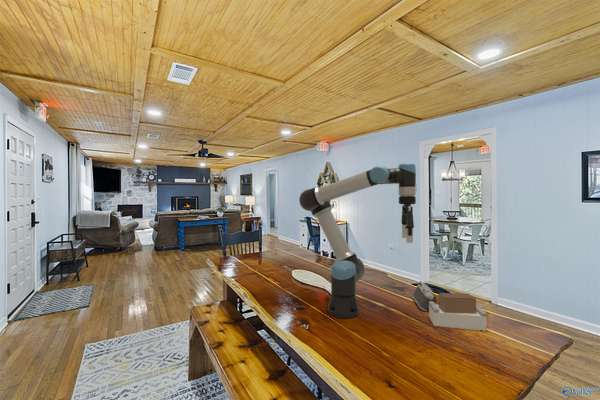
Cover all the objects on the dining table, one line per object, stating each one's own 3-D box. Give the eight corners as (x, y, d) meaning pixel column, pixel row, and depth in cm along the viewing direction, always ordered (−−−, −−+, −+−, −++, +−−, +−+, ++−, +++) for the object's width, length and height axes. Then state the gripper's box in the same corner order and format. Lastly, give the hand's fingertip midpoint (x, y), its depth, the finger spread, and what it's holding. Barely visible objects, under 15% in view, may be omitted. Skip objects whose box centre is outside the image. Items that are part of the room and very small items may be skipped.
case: (444, 312, 115) (444, 298, 115) (438, 306, 121) (438, 292, 121) (476, 313, 114) (476, 298, 114) (468, 307, 120) (468, 293, 120)
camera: (418, 308, 130) (428, 290, 129) (410, 295, 146) (418, 278, 144) (436, 317, 129) (446, 298, 127) (426, 302, 145) (435, 286, 143)
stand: (434, 326, 115) (434, 309, 115) (429, 316, 124) (429, 301, 124) (486, 331, 111) (486, 313, 111) (477, 321, 120) (477, 305, 119)
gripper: (421, 196, 115) (421, 245, 116) (410, 195, 140) (410, 236, 140) (402, 196, 117) (402, 244, 117) (395, 195, 141) (395, 235, 142)
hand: (407, 240), depth 129 cm, fingers open, 13 cm apart
